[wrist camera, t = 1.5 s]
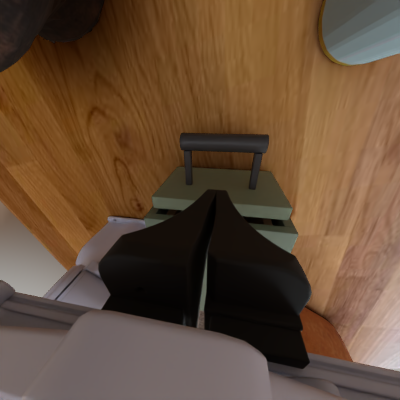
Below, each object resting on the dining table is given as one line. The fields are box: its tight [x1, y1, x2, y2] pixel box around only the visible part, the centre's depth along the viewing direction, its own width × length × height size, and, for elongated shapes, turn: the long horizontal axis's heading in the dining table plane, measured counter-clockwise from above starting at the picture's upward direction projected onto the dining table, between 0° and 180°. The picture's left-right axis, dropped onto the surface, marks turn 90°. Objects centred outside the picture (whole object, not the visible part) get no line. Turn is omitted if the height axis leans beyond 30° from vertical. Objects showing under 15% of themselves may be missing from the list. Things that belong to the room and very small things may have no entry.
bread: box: [299, 307, 353, 362], centre depth 30 cm, size 18×21×17 cm
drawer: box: [152, 133, 292, 225], centre depth 18 cm, size 18×11×8 cm, turn 0°
